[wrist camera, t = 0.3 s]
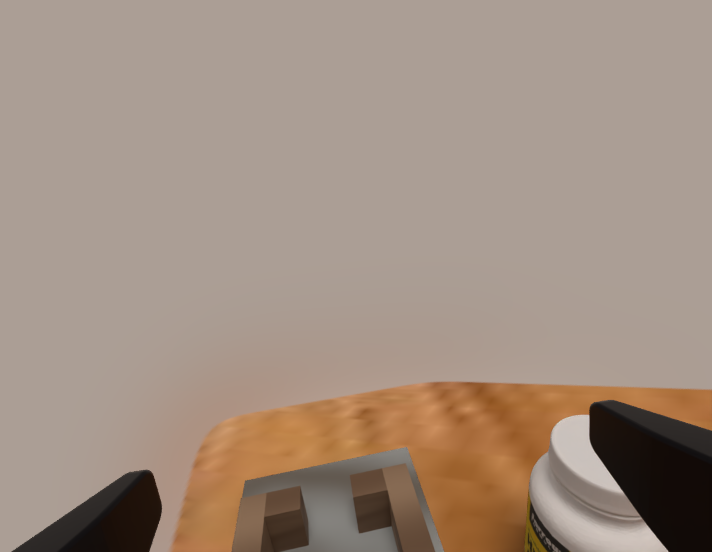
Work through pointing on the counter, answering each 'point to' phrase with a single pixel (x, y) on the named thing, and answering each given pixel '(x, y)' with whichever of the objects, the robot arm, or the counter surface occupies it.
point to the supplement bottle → (580, 500)
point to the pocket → (338, 509)
